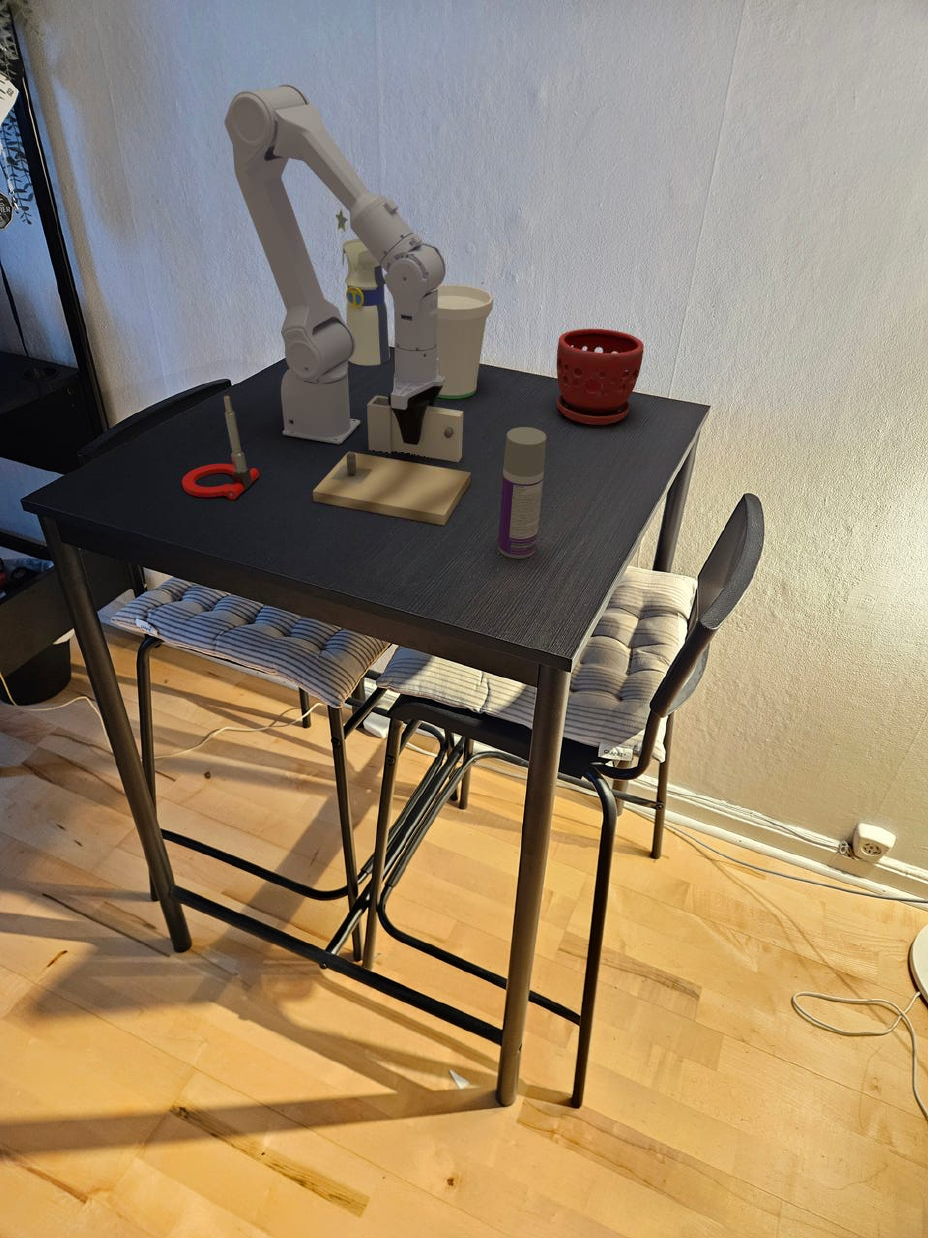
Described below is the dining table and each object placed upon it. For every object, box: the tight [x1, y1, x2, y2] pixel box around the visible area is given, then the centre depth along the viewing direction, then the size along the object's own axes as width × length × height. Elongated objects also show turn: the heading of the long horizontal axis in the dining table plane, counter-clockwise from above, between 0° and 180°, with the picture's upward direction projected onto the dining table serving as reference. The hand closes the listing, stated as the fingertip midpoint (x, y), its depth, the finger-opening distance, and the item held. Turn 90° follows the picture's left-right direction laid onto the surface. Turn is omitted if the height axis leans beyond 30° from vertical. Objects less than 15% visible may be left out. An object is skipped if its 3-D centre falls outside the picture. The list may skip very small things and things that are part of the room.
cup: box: [431, 284, 494, 400], centre depth 136 cm, size 12×12×15 cm
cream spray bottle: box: [335, 208, 391, 366], centre depth 143 cm, size 8×9×25 cm
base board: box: [312, 451, 472, 526], centre depth 111 cm, size 18×12×5 cm, turn 74°
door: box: [366, 395, 464, 463], centre depth 120 cm, size 13×3×7 cm, turn 74°
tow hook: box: [181, 395, 260, 501], centre depth 109 cm, size 8×13×9 cm
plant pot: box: [556, 328, 645, 426], centre depth 131 cm, size 13×13×12 cm
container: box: [497, 426, 547, 560], centre depth 98 cm, size 5×5×15 cm
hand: (416, 436), depth 120 cm, fingers open, 4 cm apart
